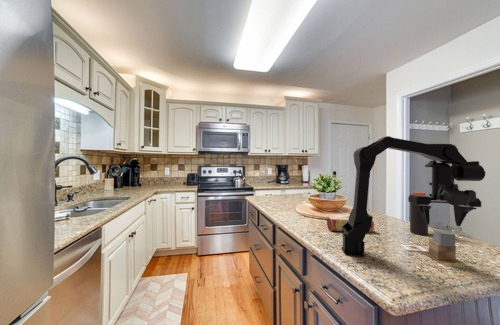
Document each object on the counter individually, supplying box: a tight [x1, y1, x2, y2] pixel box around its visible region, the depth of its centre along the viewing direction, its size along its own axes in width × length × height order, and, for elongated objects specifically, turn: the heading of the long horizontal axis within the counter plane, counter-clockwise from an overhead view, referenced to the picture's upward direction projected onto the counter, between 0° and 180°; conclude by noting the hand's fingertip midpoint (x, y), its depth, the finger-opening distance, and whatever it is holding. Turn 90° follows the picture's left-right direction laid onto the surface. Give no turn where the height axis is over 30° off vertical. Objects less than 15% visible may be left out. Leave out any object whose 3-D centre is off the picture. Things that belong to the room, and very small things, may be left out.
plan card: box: [399, 243, 429, 253], centre depth 80 cm, size 7×5×1 cm
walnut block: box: [428, 238, 457, 261], centre depth 71 cm, size 5×5×5 cm
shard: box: [418, 250, 466, 267], centre depth 72 cm, size 11×8×2 cm
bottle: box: [409, 191, 429, 236], centre depth 99 cm, size 7×7×20 cm
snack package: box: [326, 216, 375, 234], centre depth 102 cm, size 21×7×7 cm, turn 87°
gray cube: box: [432, 229, 456, 247], centre depth 70 cm, size 4×4×4 cm
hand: (442, 225), depth 71 cm, fingers open, 9 cm apart
